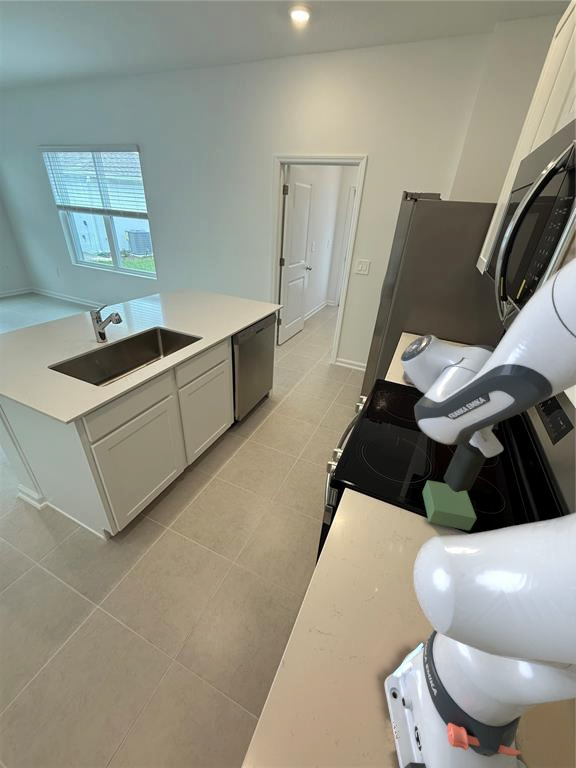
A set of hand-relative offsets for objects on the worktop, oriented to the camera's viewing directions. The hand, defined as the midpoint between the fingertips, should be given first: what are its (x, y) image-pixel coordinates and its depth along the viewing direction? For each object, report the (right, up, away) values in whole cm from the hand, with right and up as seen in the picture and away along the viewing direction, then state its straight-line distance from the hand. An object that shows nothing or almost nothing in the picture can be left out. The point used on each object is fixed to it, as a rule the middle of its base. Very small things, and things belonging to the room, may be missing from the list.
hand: (481, 437), depth 70 cm
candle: (-2, -13, +8) cm, 16 cm away
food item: (+15, +14, +77) cm, 80 cm away
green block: (-2, -22, +13) cm, 26 cm away
